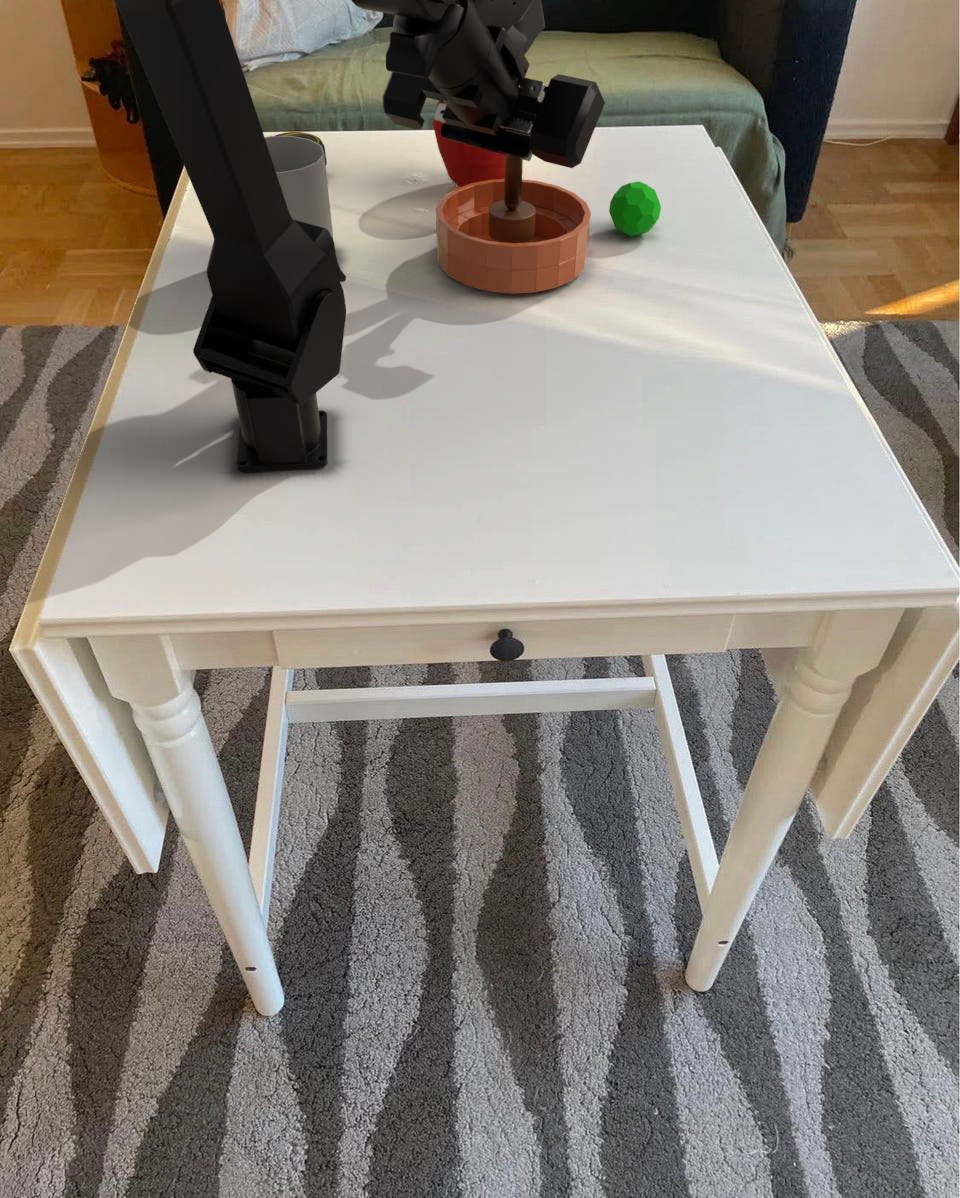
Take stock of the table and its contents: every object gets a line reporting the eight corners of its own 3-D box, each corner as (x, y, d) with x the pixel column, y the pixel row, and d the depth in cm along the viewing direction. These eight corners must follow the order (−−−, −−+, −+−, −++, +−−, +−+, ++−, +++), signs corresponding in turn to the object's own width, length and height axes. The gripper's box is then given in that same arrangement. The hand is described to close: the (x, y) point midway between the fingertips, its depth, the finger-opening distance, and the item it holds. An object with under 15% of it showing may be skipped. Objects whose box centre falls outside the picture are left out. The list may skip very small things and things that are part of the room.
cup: (318, 287, 88) (305, 177, 81) (234, 277, 89) (213, 168, 82) (345, 246, 93) (335, 140, 86) (266, 237, 95) (249, 132, 87)
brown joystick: (541, 229, 92) (550, 70, 82) (523, 248, 89) (530, 86, 79) (500, 220, 93) (504, 63, 83) (480, 238, 90) (482, 78, 80)
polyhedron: (621, 247, 94) (627, 198, 91) (598, 226, 97) (603, 178, 94) (665, 239, 95) (673, 191, 92) (641, 218, 99) (648, 171, 95)
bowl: (598, 294, 87) (604, 242, 84) (444, 302, 86) (444, 249, 83) (570, 225, 97) (574, 176, 94) (431, 231, 96) (430, 181, 92)
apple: (528, 172, 106) (533, 65, 98) (522, 209, 100) (527, 98, 92) (441, 168, 107) (439, 61, 99) (428, 204, 100) (425, 93, 92)
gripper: (607, -35, 68) (649, 87, 83) (393, -70, 75) (467, 49, 89) (548, 115, 69) (600, 209, 84) (342, 68, 76) (423, 163, 90)
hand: (521, 153), depth 87 cm, fingers closed on brown joystick, 2 cm apart
